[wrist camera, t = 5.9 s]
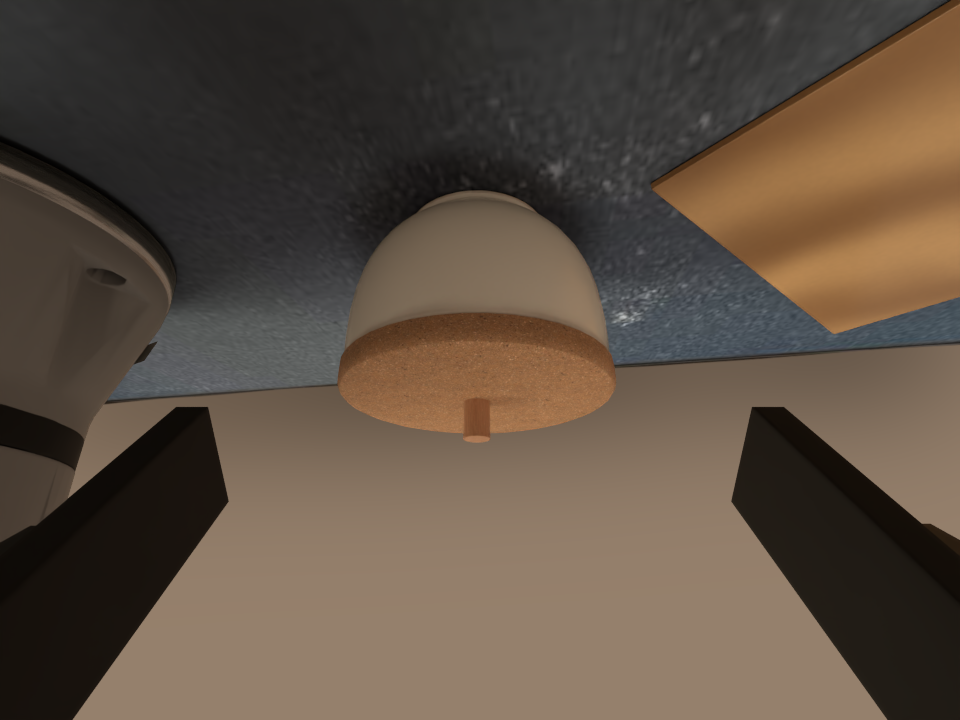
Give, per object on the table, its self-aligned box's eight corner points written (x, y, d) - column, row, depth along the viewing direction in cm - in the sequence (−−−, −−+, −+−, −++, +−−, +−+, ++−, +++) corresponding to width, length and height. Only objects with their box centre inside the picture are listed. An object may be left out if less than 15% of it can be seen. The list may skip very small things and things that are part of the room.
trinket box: (567, 299, 29) (581, 469, 25) (372, 292, 28) (356, 466, 24) (632, 152, 19) (670, 396, 15) (334, 137, 18) (298, 388, 15)
